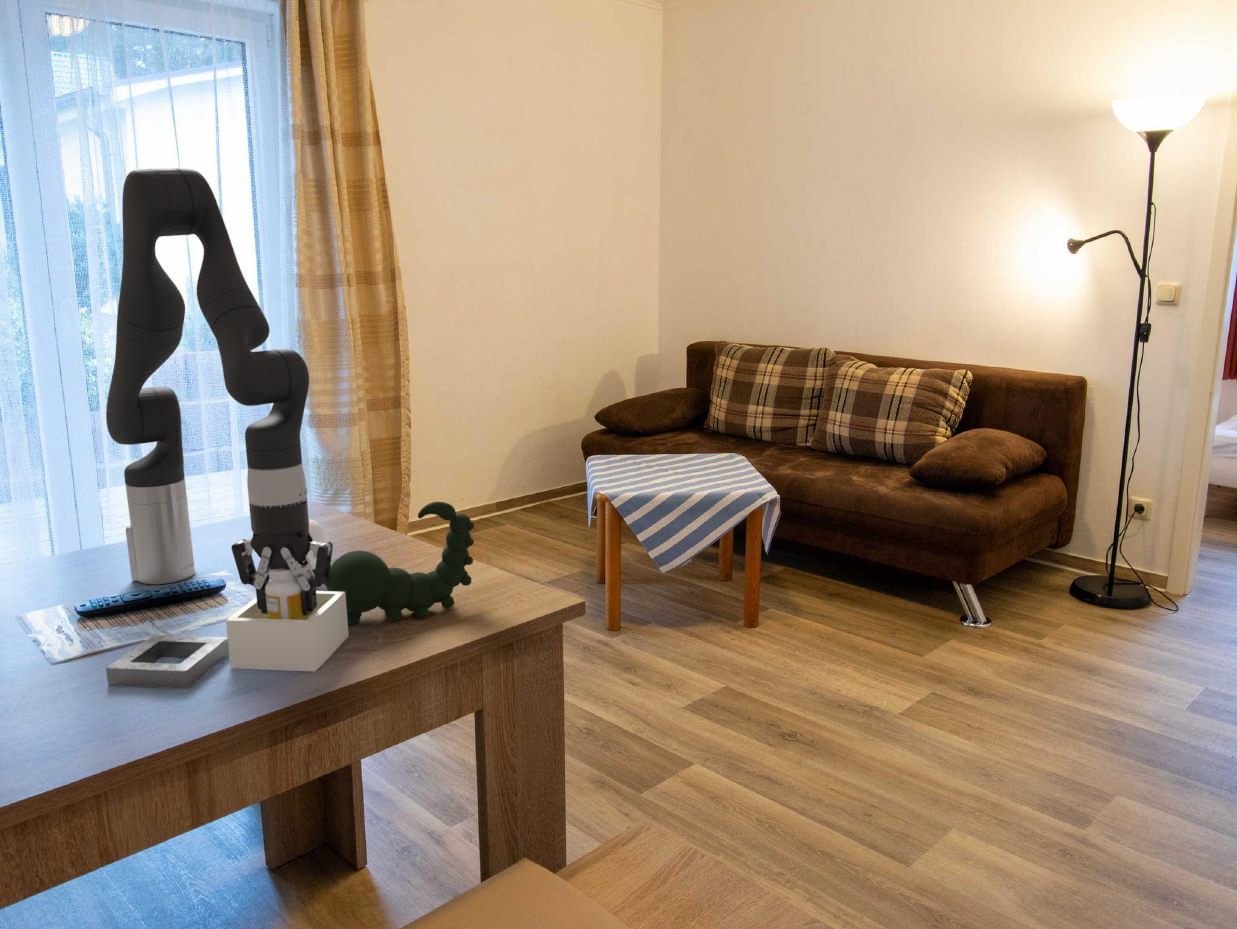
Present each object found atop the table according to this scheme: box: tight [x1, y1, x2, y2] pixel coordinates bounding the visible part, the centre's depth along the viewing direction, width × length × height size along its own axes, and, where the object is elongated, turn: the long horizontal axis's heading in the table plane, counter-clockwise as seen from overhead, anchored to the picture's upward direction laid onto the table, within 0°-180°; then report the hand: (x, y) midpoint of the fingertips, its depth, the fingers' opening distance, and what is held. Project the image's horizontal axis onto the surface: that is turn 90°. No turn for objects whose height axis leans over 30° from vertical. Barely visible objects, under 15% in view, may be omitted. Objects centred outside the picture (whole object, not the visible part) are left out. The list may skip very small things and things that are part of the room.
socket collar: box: [105, 634, 230, 690], centre depth 129 cm, size 11×11×2 cm
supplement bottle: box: [265, 568, 308, 620], centre depth 133 cm, size 5×5×10 cm
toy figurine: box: [312, 501, 475, 625], centre depth 146 cm, size 9×19×25 cm
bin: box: [225, 590, 349, 673], centre depth 134 cm, size 12×12×7 cm
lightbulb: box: [299, 518, 326, 569], centre depth 163 cm, size 6×6×11 cm
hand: (288, 612), depth 134 cm, fingers closed on supplement bottle, 5 cm apart
